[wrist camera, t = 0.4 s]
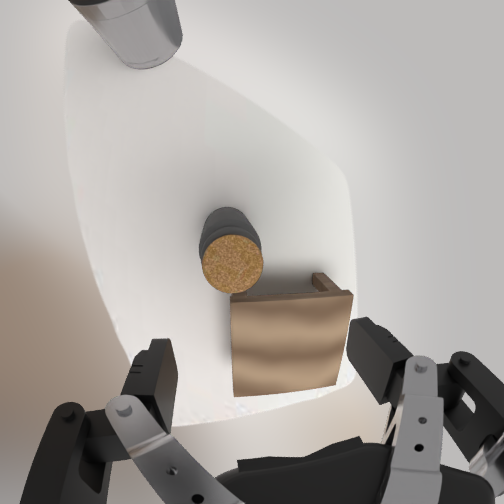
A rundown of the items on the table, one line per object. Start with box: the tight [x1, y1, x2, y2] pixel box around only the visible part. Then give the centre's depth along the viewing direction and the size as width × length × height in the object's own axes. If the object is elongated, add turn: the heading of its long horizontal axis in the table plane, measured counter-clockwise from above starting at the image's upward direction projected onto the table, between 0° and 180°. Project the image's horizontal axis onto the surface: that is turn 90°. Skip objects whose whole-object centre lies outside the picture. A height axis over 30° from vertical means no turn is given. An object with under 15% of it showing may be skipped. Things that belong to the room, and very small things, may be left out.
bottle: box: [199, 207, 263, 293], centre depth 28 cm, size 6×6×15 cm
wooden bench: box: [230, 273, 354, 397], centre depth 35 cm, size 14×14×9 cm
